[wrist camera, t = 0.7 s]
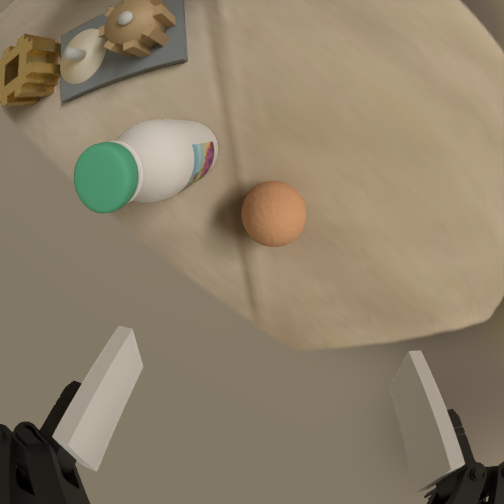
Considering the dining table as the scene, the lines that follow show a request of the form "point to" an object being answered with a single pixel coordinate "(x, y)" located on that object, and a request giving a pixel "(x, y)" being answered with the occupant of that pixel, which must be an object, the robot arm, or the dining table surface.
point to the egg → (273, 213)
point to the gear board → (134, 62)
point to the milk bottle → (145, 164)
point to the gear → (29, 70)
